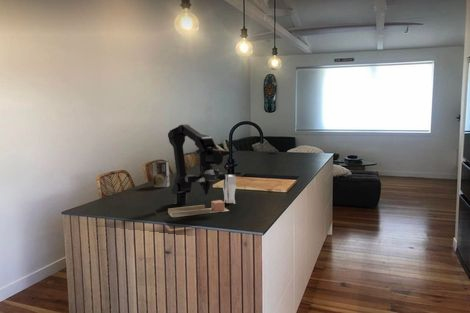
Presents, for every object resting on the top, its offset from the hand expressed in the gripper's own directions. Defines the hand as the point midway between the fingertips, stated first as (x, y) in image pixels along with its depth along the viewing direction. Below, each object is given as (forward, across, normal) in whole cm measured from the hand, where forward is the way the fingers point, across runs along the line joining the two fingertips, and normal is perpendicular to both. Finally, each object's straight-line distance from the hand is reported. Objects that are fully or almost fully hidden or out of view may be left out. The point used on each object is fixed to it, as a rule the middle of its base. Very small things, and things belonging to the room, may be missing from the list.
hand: (205, 195), depth 186 cm
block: (+8, +6, 0) cm, 10 cm away
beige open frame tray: (+9, -4, 0) cm, 9 cm away
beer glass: (+9, +17, +13) cm, 24 cm away
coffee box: (+9, -6, +74) cm, 75 cm away
